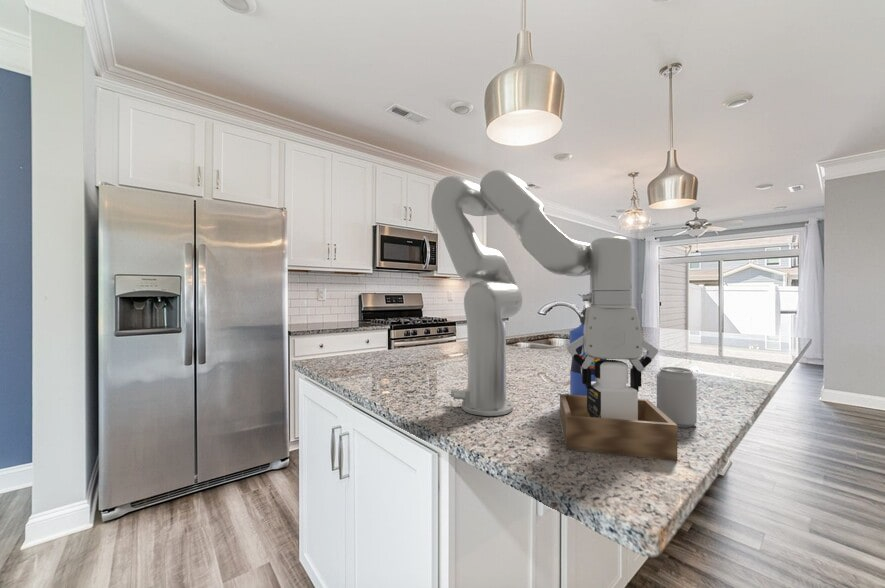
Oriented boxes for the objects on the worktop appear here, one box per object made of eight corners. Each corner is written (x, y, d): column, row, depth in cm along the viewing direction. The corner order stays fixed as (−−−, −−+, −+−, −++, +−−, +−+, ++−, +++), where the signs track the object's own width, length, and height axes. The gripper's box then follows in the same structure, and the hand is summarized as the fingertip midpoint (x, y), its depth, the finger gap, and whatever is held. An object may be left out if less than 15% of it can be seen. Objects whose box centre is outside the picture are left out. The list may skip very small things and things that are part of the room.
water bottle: (570, 399, 99) (570, 307, 99) (608, 403, 96) (608, 307, 96) (568, 409, 91) (568, 308, 91) (610, 414, 87) (610, 308, 87)
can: (703, 430, 77) (703, 372, 77) (664, 427, 79) (664, 371, 79) (687, 418, 85) (687, 366, 85) (651, 416, 86) (651, 364, 86)
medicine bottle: (586, 415, 76) (586, 357, 76) (621, 416, 76) (621, 357, 76) (600, 427, 69) (599, 364, 69) (638, 428, 69) (638, 364, 69)
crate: (566, 449, 67) (566, 416, 67) (559, 420, 83) (559, 394, 83) (677, 460, 63) (677, 425, 63) (648, 427, 78) (648, 399, 78)
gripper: (566, 300, 71) (566, 391, 71) (666, 300, 67) (666, 396, 67) (562, 300, 78) (563, 382, 78) (653, 300, 74) (653, 386, 74)
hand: (610, 388), depth 73 cm, fingers closed on medicine bottle, 8 cm apart
